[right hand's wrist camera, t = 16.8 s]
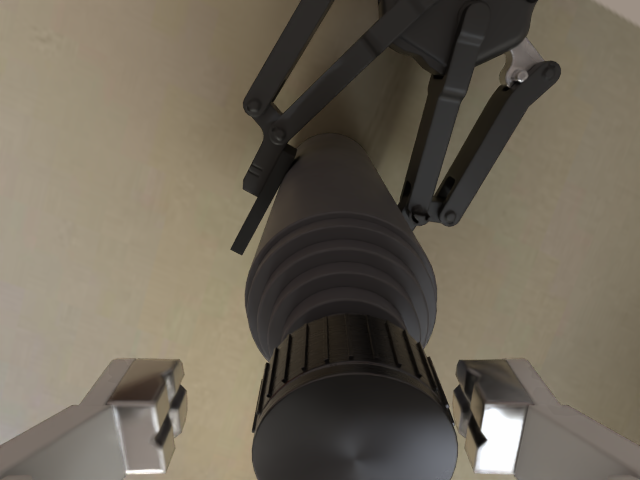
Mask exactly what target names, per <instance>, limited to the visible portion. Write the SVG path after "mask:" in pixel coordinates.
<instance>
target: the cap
mask: <svg viewBox="0 0 640 480" xmlns="http://www.w3.org/2000/svg"><path fill="white" fill-rule="evenodd" d="M454 426H455V424H454V420H453V418H452V415H451V413H450V410H449V404H448V402H447V399H446V397H445V394H444V391H443V389H442V386H441V384H440V381H439V379H438V376H437V373H436V371H435V368H434V366H433V363H432V361H431V358H430V357H427V356H426V354H425V352H424V349H423V347H422V344H421V343H420V342H417V341H416V340H415V339H414V338H413V337H412V336H411V335H409V334H408V331H407V330H406V329H404V330H403V329H401V328H399V327H398V326H396V325H394V324H392V323H390V321H389V320H383V319H380V318H376V317H373V316H370V315H367V314H366V315H362V314H348V313H345V314H340V315H332V316H328V317H327V316H325V317H323V318H320V319H317V320H314V321H312V322H310V323H308V324H307V323H305V324H304V326H302V327H300V328H299V329H297V330H296V331H294V332H293V333H292V334H288V335H287V338H286V339H285V340H284V341H283V342H282V343H281V344H280V345H279V346H278V348H277V347H275V349H274V352H273V355H272V357H271V359H270V361H269V363H266V365H265V369H264V375H263V379H262V381H261V386H260V391H259V396H258V402H257V407H256V412H255V417H254V422H253V428H252V433H254V439H253V445H252V462H253V467H254V471H255V474H256V477H257V479H258V480H451V478H452V475H453V473H454V470H455V467H456V462H457V457H458V442H457V436H456V432H455V429H454Z"/></svg>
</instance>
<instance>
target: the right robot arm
mask: <svg viewBox="0 0 640 480" xmlns="http://www.w3.org/2000/svg"><path fill="white" fill-rule="evenodd" d="M183 377H184V369H183V363H182V362H181V361H180V359H135V358H117V359H114V360H112V361H111V362H110V363H109V365H108V366H107V368H106V369H105V370H104V372H103V373H102V374H101V376H100V377H99V378H98V380H97V381H96V383H95V384H94V385H93V387H92V388H91V389H90V391H89V392H88V393H87V395H86V396H85V398H84V399H83V400H82V402H81V403H80V404H79V405H72V406H70V407H68V408H66V409H64V410H63V411H61V412H59V413H57V414H56V415H54V416H52V417H50V418H48V419H47V420H45V421H43V422H41V423H40V424H38V425H36V426H34V427H32V428H31V429H29V430H27V431H25V432H24V433H22V434H20V435H18V436H16V437H15V438H13V439H11V440H9V441H7V442H6V443H4V444H2V445H0V480H122V479H124V478H125V474H155V473H166V471H167V468H168V466H169V463H170V461H171V458H172V456H173V453H174V451H175V442H174V438H175V437H177V436H178V435H179V434H180V433H181V432H182V430H183V427H184V424H185V420H186V415H187V391H186V390H185V389H184V387H183V386H182V385H181V381H182V379H183ZM456 377H457V379H458V381H459V385H458V386H457V387H456V389H455V390H454V391H453V402H452V404H453V416H454V420H455V424H456V427H457V430H458V433H460V434H461V435H462V436H463V437H465V438H466V442H465V451H466V453H467V456H468V458H469V461H470V463H471V466H472V468H473V471H474V473H484V474H515V475H514V476H515V477H516V478H517V479H518V480H640V446H639V445H638V444H636V443H634V442H632V441H631V440H629V439H627V438H625V437H623V436H622V435H620V434H618V433H616V432H615V431H613V430H611V429H609V428H607V427H606V426H604V425H602V424H600V423H599V422H597V421H595V420H593V419H591V418H590V417H588V416H586V415H584V414H583V413H581V412H579V411H577V410H576V409H574V408H572V407H570V406H568V405H561V404H560V403H559V402H558V400H557V399H556V398H555V396H554V395H553V394H552V392H551V391H550V390H549V388H548V387H547V385H546V384H545V383H544V381H543V380H542V379H541V377H540V376H539V375H538V373H537V372H536V371H535V369H534V368H533V367H532V365H531V364H530V362H529V361H528V360H526V359H524V358H513V359H495V360H459V362H458V364H457V368H456Z"/></svg>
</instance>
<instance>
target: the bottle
mask: <svg viewBox="0 0 640 480" xmlns="http://www.w3.org/2000/svg"><path fill="white" fill-rule="evenodd" d="M297 149H298V150H297V153H296V156H295V159H294V160H293V162H292V164H291V166H290V168H289V170H288V171H287V173H286V175H285V177H284V179H283V181H282V183H281V185H280V188H279V190H278V193H277V196H276V199H275V202H274V204H273V207H272V210H271V213H270V215H269V218H268V221H267V224H266V226H265V229H264V232H263V235H262V237H261V240H260V243H259V246H258V249H257V251H256V254H255V257H254V260H253V262H252V265H251V268H250V271H249V274H248V278H247V281H246V288H245V308H246V313H247V318H248V322H249V328H250V331H251V334H252V337H253V339H254V341H255V343H256V345H257V347H258V349H259V350H260V352H261V353H262V355H263V356H264V357H265V359H266V360H267V361H268V362H269V361H270V359H271V357H272V355H273V352H274V349H275V347H277V348H278V346H279V345H280V344H281V343H282V342H283V341H284V340H285V339H286V338H287V335H288V334H292V333H293V332H294V331H296V330H297V329H299V328H300V327H302V326H304V324H305V323H307V324H308V323H310V322H312V321H314V320H317V319H320V318H323V317H325V316H327V317H328V316H332V315H340V314H345V313H348V314H362V315H366V314H367V315H370V316H373V317H376V318H380V319H383V320H389V321H390V323H392V324H394V325H396V326H398V327H399V328H401V329H403V330H404V329H406V330H407V331H408V334H409V335H411V336H412V337H413V338H414V339H415V340H416V341H417V342H420V343H421V344H422V347H423V349H424V348H425V346H426V345H427V343H428V341H429V338H430V336H431V334H432V331H433V328H434V324H435V319H436V312H437V305H436V303H437V286H436V280H435V275H434V272H433V269H432V266H431V264H430V262H429V260H428V258H427V256H426V254H425V252H424V251H423V249H422V247H421V245H420V244H419V242H418V240H417V239H416V237H415V235H414V234H413V232H412V230H411V228H410V227H409V225H408V223H407V222H406V220H405V218H404V216H403V215H402V213H401V211H400V210H399V208H398V206H397V204H396V203H395V201H394V199H393V198H392V196H391V194H390V193H389V191H388V189H387V187H386V186H385V184H384V182H383V181H382V179H381V177H380V175H379V174H378V172H377V170H376V169H375V167H374V165H373V164H372V162H371V160H370V158H369V157H368V155H367V153H366V152H365V150H364V149H363V148H362V147H361V146H360V145H359V144H358V143H357V142H356V141H354V140H352V139H351V138H349V137H347V136H344V135H341V134H335V133H325V134H319V135H316V136H313V137H311V138H309V139H307V140H306V141H304V142H303V143H302V144H301V145H299V146H298V147H297Z"/></svg>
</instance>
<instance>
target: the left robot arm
mask: <svg viewBox="0 0 640 480" xmlns="http://www.w3.org/2000/svg"><path fill="white" fill-rule="evenodd" d="M537 1H538V0H378V9H379V20H378V21H377V22H376V23H375V24H374V25H373V26H372V27H371V28H370V29H369V30H368V31H367V32H366V33H365V34H364V35H363V36H362V37H361V38H360V39H359V40H358V41H357V42H356V43H355V44H354V45H353V46H352V47H350V48H349V49H348V50H347V51H346V52H345V53H344V54H343V55H342V56H341V57H340V58H339V59H338V60H337V61H336V62H335V63H334V64H333V65H332V66H331V67H330V68H329V69H328V70H327V71H326V72H325V73H324V74H323V75H322V76H321V77H320V78H319V79H318V80H317V81H316V82H315V83H314V84H313V85H312V86H311V87H310V88H309V89H308V90H307V91H306V92H305V93H304V94H303V95H302V96H301V97H300V98H298V99H297V100H296V101H295V102H294V103H293V104H292V105H291V106H290V107H289V108H288V109H287V110H286V111H285V112H284V113H282V112H281V111H280V110H279V109H278V108H277V106H276V105H275V104H274V103H273V102H274V100H275V99H276V97H277V95H278V94H279V92H280V90H281V89H282V87H283V85H284V84H285V82H286V80H287V79H288V77H289V75H290V74H291V72H292V70H293V69H294V67H295V65H296V64H297V62H298V60H299V59H300V57H301V55H302V54H303V52H304V50H305V49H306V47H307V45H308V44H309V42H310V40H311V39H312V37H313V35H314V34H315V32H316V30H317V29H318V27H319V25H320V24H321V22H322V20H323V19H324V17H325V15H326V14H327V12H328V10H329V9H330V7H331V5H332V4H333V2H334V0H301V1H300V3H299V5H298V7H297V8H296V10H295V12H294V14H293V15H292V17H291V19H290V21H289V22H288V24H287V26H286V27H285V29H284V31H283V33H282V34H281V36H280V38H279V40H278V41H277V43H276V45H275V46H274V48H273V50H272V52H271V53H270V55H269V57H268V59H267V60H266V62H265V64H264V66H263V67H262V69H261V71H260V72H259V74H258V76H257V78H256V79H255V81H254V83H253V85H252V86H251V88H250V90H249V91H248V93H247V95H246V97H245V98H244V101H243V108H244V110H245V112H246V113H247V114H248V115H249V116H251V117H252V118H253V119H254V120H255V121H256V122H257V123H258V125H259V126H260V127H261V129H262V131H263V135H264V138H263V142H262V144H261V146H260V148H259V150H258V152H257V154H256V156H255V158H254V160H253V162H252V164H251V166H250V168H249V170H248V172H247V174H246V176H245V178H244V180H243V189H244V190H245V191H247V192H249V193H251V194H253V195H255V196H257V197H258V198H257V200H256V201H255V203H254V205H253V207H252V209H251V211H250V213H249V215H248V217H247V219H246V220H245V222H244V224H243V226H242V228H241V230H240V232H239V234H238V236H237V237H236V239H235V241H234V243H233V245H232V247H231V249H230V250H232V251H234V252H236V253H238V254H240V255H243V253H244V251H245V249H246V247H247V245H248V243H249V242H250V240H251V238H252V236H253V234H254V232H255V231H256V229H257V227H258V225H259V223H260V221H261V219H262V218H263V216H264V214H265V212H266V210H267V208H268V207H269V205H270V203H271V201H272V199H273V197H274V195H275V194H276V192H277V190H278V188H279V186H280V184H281V183H282V181H283V179H284V177H285V175H286V173H287V171H288V170H289V168H290V166H291V164H292V162H293V160H294V159H295V156H296V153H297V150H298V149H296V148H294V147H292V146H291V145H289V144H287V143H288V141H289V140H290V139H291V138H292V137H293V136H294V135H296V134H297V133H298V132H299V131H300V130H301V129H302V128H303V127H304V126H305V125H306V124H307V123H308V122H309V121H310V120H311V119H312V118H313V117H314V116H315V115H316V114H317V113H319V112H320V111H321V110H322V109H323V108H324V107H325V106H326V105H327V104H328V103H329V102H330V101H331V100H332V99H333V98H334V97H335V96H336V95H337V94H338V93H339V92H340V91H342V90H343V89H344V88H345V87H346V86H347V85H348V84H349V83H350V82H351V81H352V80H353V79H354V78H355V77H356V76H357V75H358V74H359V73H360V72H361V71H362V70H363V69H365V68H366V67H367V66H368V65H369V64H370V63H371V62H372V61H373V60H374V59H375V58H376V57H377V56H378V55H380V54H381V53H382V52H383V51H384V50H385V49H386V48H387V47H388V46H389V47H390V48H392V49H393V50H395V51H396V52H398V53H401V54H405V55H409V56H412V57H413V58H414V59H415V60H416V61H417V62H418V63H419V65H420V66H421V67H422V68H423V69H425V70H427V71H428V72H430V73H431V78H430V82H429V86H428V96H427V100H426V104H425V108H424V111H423V115H422V119H421V123H420V126H419V130H418V134H417V137H416V141H415V145H414V148H413V152H412V156H411V160H410V163H409V167H408V171H407V174H406V178H405V182H404V185H403V189H402V193H401V196H400V202H399V204H398V205H397V206H398V208H399V210H400V211H401V213H402V215H403V216H404V218H405V220H406V222H407V223H408V225H409V227H410V228H411V230H412V231H413V230H414V228H415V227H416V226H422V225H424V224H426V223H427V222H429V221H431V222H437V223H442V224H443V225H445V226H448V227H450V226H454V225H456V224H457V223H458V222H459V221H460V219H461V218H462V216H463V214H464V213H465V211H466V209H467V208H468V206H469V204H470V203H471V201H472V199H473V198H474V196H475V194H476V193H477V191H478V189H479V188H480V186H481V185H482V183H483V181H484V180H485V178H486V176H487V175H488V173H489V171H490V170H491V168H492V166H493V165H494V163H495V161H496V160H497V158H498V156H499V155H500V153H501V152H502V150H503V148H504V147H505V145H506V143H507V142H508V140H509V138H510V137H511V135H512V133H513V132H514V130H515V128H516V127H517V125H518V123H519V122H520V120H521V118H522V117H523V115H524V114H525V112H526V110H527V109H528V107H529V106H530V105H531V104H532V103H533V102H534V101H536V100H537V99H538V98H539V97H540V96H541V95H542V94H543V93H544V92H546V91H547V90H548V89H549V88H550V87H551V86H552V85H553V84H555V83H556V82H557V80H558V79H559V77H560V74H561V68H560V66H559V64H558V63H556V62H554V61H544V60H543V58H542V57H541V56H540V54H539V53H538V52H537V50H536V49H535V48H534V47H533V45H532V44H531V43H530V41H529V40H528V39H527V37H526V36H527V34H528V31H529V28H530V21H531V15H532V12H533V9H534V7H535V4H536V3H537ZM501 54H505V56H506V63H505V66H504V67H503V69H502V70H501V72H500V75H499V81H500V83H501V85H500V86H499V87H498V89H497V90H496V91H495V92H494V94H493V95H492V96H491V98H490V100H489V101H488V103H487V104H486V106H485V108H484V110H483V111H482V113H481V115H480V117H479V118H478V120H477V122H476V124H475V125H474V127H473V129H472V131H471V132H470V134H469V136H468V138H467V139H466V141H465V143H464V145H463V146H462V148H461V150H460V152H459V153H458V155H457V157H456V158H455V160H454V162H453V164H452V165H451V167H450V169H449V171H448V172H447V174H446V176H445V178H444V179H443V181H442V183H441V185H440V186H439V188H438V190H437V192H436V193H435V195H434V196H433V194H434V191H435V187H436V184H437V181H438V177H439V174H440V171H441V167H442V164H443V160H444V157H445V154H446V150H447V147H448V144H449V140H450V137H451V134H452V130H453V127H454V123H455V120H456V117H457V113H458V110H459V107H460V103H461V101H462V100H463V98H464V97H465V95H466V93H467V90H468V87H469V83H470V80H471V77H472V73H473V70H474V67H476V66H478V65H480V64H482V63H484V62H486V61H489V60H491V59H493V58H495V57H497V56H499V55H501Z"/></svg>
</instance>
